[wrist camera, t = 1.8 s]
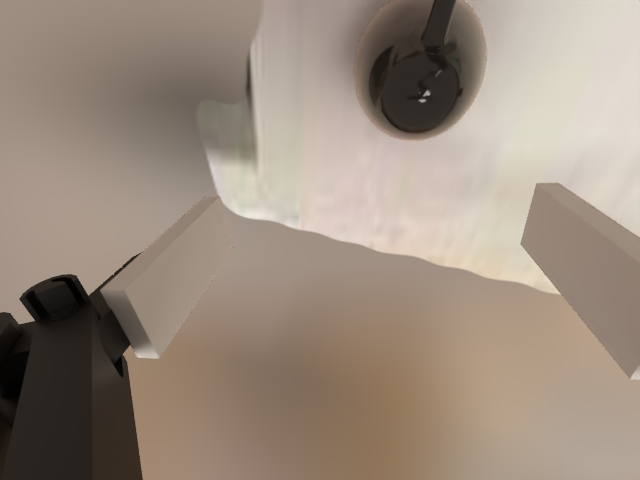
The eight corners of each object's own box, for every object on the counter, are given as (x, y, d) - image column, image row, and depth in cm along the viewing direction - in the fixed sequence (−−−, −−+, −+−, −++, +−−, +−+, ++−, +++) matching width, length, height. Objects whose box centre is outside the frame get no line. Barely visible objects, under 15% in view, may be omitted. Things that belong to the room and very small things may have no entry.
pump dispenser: (496, -8, 26) (573, -9, 14) (451, 122, 32) (478, 196, 20) (371, -21, 27) (343, -34, 15) (352, 107, 33) (323, 168, 21)
